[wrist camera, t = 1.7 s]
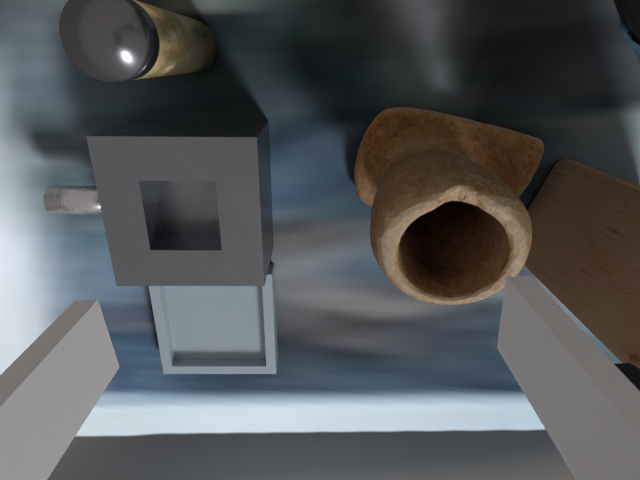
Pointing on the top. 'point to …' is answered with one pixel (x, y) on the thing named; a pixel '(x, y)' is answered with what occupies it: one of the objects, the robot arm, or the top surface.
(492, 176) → the stone cup
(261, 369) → the tray
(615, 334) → the wooden block
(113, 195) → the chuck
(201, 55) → the cylindrical container
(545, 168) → the top surface
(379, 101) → the top surface
